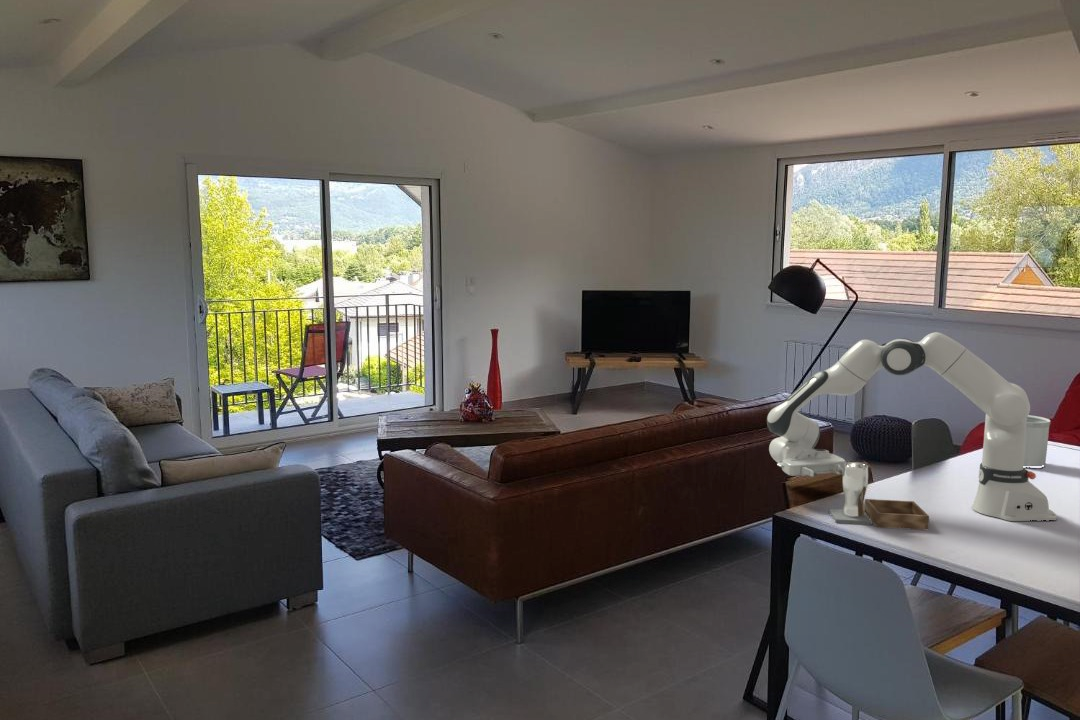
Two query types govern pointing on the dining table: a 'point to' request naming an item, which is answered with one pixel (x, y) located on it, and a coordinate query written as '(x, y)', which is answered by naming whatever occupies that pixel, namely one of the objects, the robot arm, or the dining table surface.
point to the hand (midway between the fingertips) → (828, 473)
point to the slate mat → (842, 518)
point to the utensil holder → (1036, 440)
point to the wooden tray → (896, 514)
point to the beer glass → (854, 488)
